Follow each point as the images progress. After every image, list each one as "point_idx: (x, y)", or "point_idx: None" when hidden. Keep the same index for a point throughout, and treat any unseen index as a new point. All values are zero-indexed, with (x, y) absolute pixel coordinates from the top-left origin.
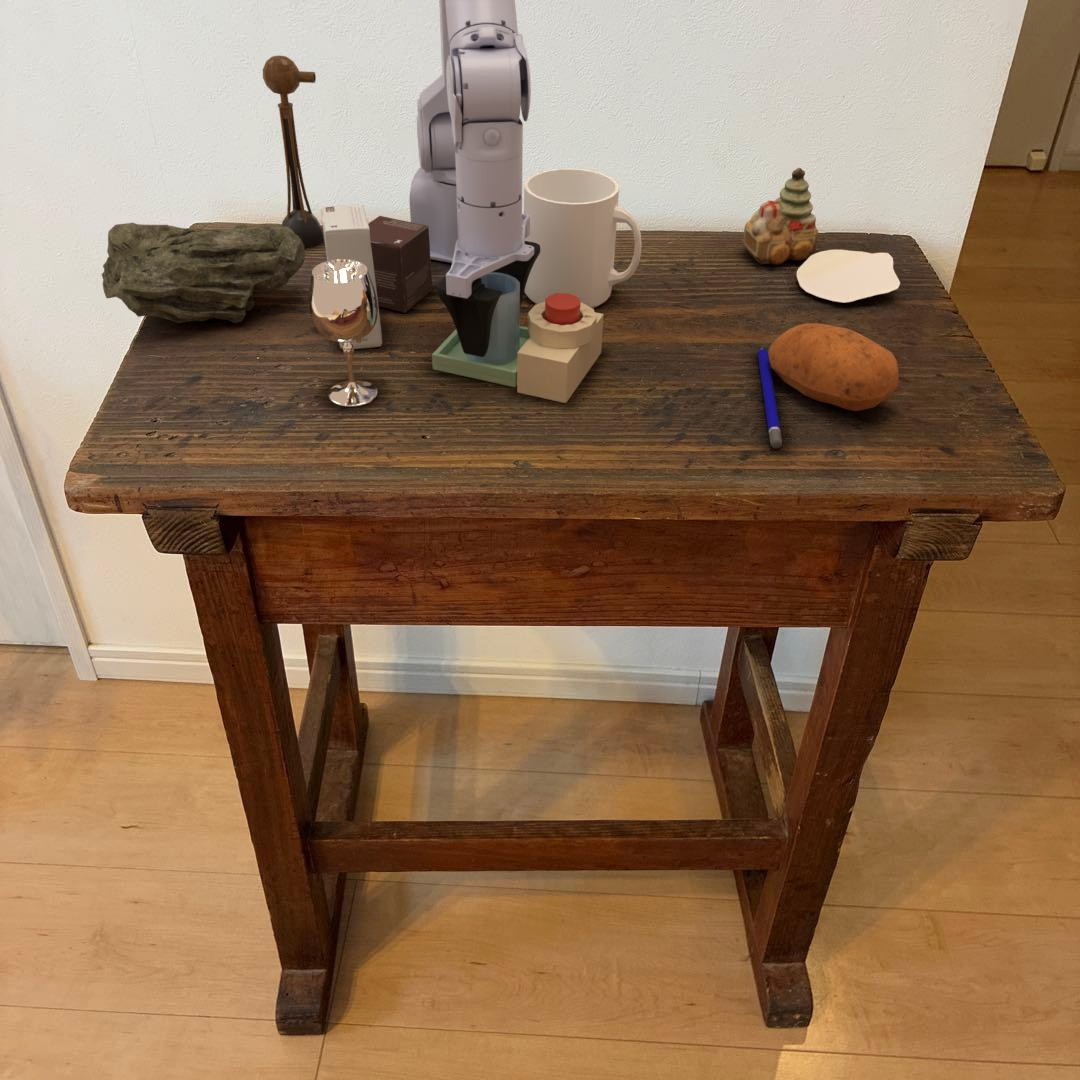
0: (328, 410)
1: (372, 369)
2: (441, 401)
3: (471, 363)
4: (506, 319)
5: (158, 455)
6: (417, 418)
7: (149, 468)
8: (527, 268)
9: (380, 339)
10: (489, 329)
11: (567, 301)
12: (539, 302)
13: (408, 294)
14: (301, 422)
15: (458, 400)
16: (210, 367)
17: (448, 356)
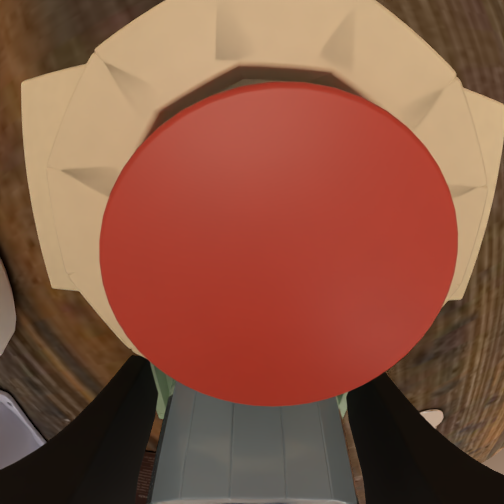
0: (446, 424)
1: (349, 441)
2: (437, 345)
3: None
4: (321, 412)
5: (485, 449)
6: (478, 349)
7: (498, 442)
8: (76, 493)
9: None
10: (402, 417)
11: (278, 246)
12: (13, 312)
13: None
14: (464, 425)
15: (435, 325)
16: (363, 496)
17: (344, 404)
